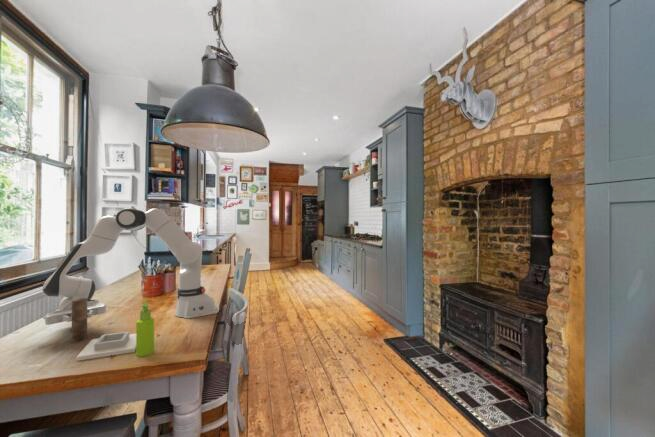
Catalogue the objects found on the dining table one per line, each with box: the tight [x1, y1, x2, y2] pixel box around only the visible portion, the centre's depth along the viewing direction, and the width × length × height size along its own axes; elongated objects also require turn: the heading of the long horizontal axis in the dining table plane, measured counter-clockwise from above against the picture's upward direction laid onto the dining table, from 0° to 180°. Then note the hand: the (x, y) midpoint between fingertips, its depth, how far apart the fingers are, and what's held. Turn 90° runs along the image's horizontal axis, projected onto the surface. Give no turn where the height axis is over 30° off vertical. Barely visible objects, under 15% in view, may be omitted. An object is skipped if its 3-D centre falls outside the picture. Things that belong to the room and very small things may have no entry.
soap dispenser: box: [135, 301, 155, 357], centre depth 111 cm, size 6×7×20 cm
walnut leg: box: [71, 298, 88, 340], centre depth 121 cm, size 5×5×16 cm
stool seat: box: [76, 331, 136, 362], centre depth 115 cm, size 18×16×4 cm
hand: (79, 317), depth 121 cm, fingers closed on walnut leg, 5 cm apart
